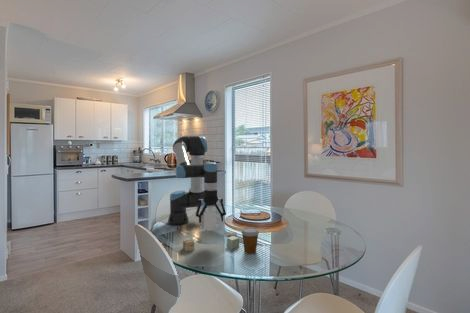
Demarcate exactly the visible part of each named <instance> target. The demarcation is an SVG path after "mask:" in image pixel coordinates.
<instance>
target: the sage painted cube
mask: <svg viewBox="0 0 470 313" xmlns="http://www.w3.org/2000/svg"><path fill="white" fill-rule="evenodd" d="M226 247H227V248H229V249H231V250H234V249H236V248H239V247H240V237H238V236H237V237H235V236H231V237H228V236H227V237H226Z"/></svg>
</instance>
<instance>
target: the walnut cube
mask: <svg viewBox="0 0 470 313" xmlns="http://www.w3.org/2000/svg"><path fill="white" fill-rule="evenodd" d="M231 236H235V237H238V233H237V232H236V231H235V232H234V231H233V232H228V236H227V238H228V237H231Z"/></svg>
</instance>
